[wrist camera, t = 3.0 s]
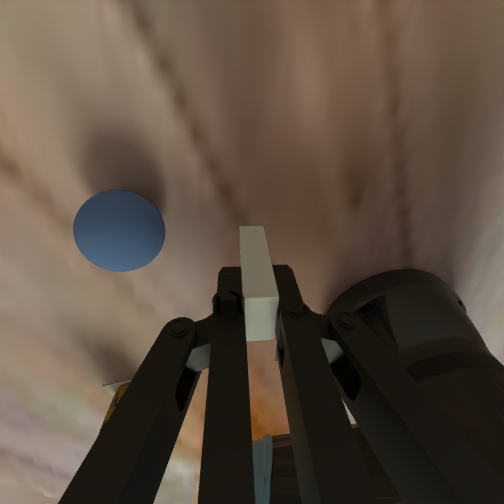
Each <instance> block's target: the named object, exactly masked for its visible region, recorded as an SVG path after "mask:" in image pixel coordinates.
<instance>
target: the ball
mask: <svg viewBox="0 0 504 504" xmlns="http://www.w3.org/2000/svg"><path fill="white" fill-rule="evenodd" d="M73 233H74V238H75V241H76V244H77V246H78V248H79V250H80V251H81V253H82V254H83V255H84V256H85V257H86V258H87V259H88V260H89V261H90V262H92V263H93V264H95V265H97V266H99V267H101V268H104V269H107V270H111V271H118V272H123V271H131V270H135V269H138V268H141V267H143V266H145V265H146V264H148V263H150V262H151V261H152V260H153V259H154V258H155V257H156V256H157V255H158V253H159V252H160V250H161V248H162V246H163V243H164V239H165V225H164V221H163V218H162V216H161V214H160V212H159V211H158V210H157V208H156V207H155V206H154V205H153V204H152V203H151V202H150V201H149V200H147V199H146V198H144V197H143V196H141V195H139V194H136V193H133V192H130V191H125V190H110V191H105V192H102V193H99V194H97V195H95V196H93V197H91V198H90V199H89V200H87V201H86V202H85V203H84V204H83V205H82V206H81V208H80V209H79V211H78V212H77V214H76V217H75V220H74V225H73Z"/></svg>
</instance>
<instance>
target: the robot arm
mask: <svg viewBox="0 0 504 504" xmlns="http://www.w3.org/2000/svg"><path fill="white" fill-rule="evenodd" d="M212 304H213V313H212V314H211V315H210V316H209V317H207V318H205V319H203V320H200V321H196V322H194V321H193V320H191V319H189V318H186V317H179V318H176V319H173V320H171V321H169V322H168V323H167V324H166V325H165V326H164V327H163V329H162V331H161V332H160V334H159V336H158V337H157V339H156V341H155V342H154V344H153V346H152V347H151V349H150V351H149V352H148V354H147V356H146V357H145V359H144V361H143V362H142V364H141V366H140V367H139V369H138V371H137V372H136V374H135V376H134V377H133V379H132V381H131V382H130V384H129V386H128V387H127V389H126V391H125V392H124V394H123V396H122V397H121V399H120V401H119V402H118V404H117V406H116V407H115V409H114V411H113V412H112V414H111V416H110V417H109V419H108V421H107V422H106V424H105V426H104V427H103V429H102V431H101V432H100V434H99V436H98V437H97V439H96V441H95V442H94V444H93V446H92V447H91V449H90V451H89V452H88V454H87V456H86V457H85V459H84V461H83V462H82V464H81V466H80V467H79V469H78V471H77V472H76V474H75V476H74V477H73V479H72V481H71V482H70V484H69V486H68V487H67V489H66V491H65V492H64V494H63V496H62V497H61V499H60V501H59V502H58V504H153V502H154V500H155V497H156V494H157V492H158V489H159V486H160V483H161V481H162V478H163V475H164V472H165V470H166V467H167V464H168V462H169V459H170V456H171V453H172V451H173V448H174V445H175V442H176V440H177V437H178V434H179V432H180V429H181V426H182V423H183V421H184V418H185V415H186V413H187V410H188V407H189V404H190V402H191V399H192V396H193V393H194V391H195V388H196V385H197V383H198V380H199V377H200V374H201V372H202V370H203V369H206V368H208V367H209V375H208V387H207V398H206V410H205V422H204V434H203V446H202V458H201V470H200V482H199V493H198V504H504V366H503V365H502V364H501V363H500V362H499V361H498V360H497V359H496V358H495V357H494V356H493V355H492V354H491V353H490V351H489V350H488V348H487V347H486V345H485V343H484V341H483V339H482V337H481V336H480V334H479V332H478V331H477V329H476V327H475V326H474V324H473V323H472V321H471V320H470V319H469V317H468V316H467V314H466V308H465V305H464V304H463V302H462V300H461V298H460V297H459V296H458V294H457V293H456V292H455V291H454V290H452V289H451V288H450V287H449V286H448V285H447V284H446V283H445V282H443V281H442V280H441V279H440V278H438V277H437V276H435V275H433V274H431V273H428V272H424V271H419V270H398V271H391V272H387V273H383V274H379V275H377V276H374V277H371V278H369V279H367V280H364V281H362V282H360V283H359V284H357V285H355V286H354V287H352V288H351V289H349V290H348V291H346V292H345V293H344V294H343V295H342V296H341V297H339V298H338V299H337V301H336V302H335V303H334V304H333V305H332V306H331V308H330V309H329V311H328V313H327V315H326V316H325V315H321V314H317V313H314V312H312V311H311V310H310V309H309V307H308V306H307V305H306V304H304V302H303V300H302V297H301V294H300V291H299V288H298V285H297V283H296V279H295V276H294V273H293V270H292V269H291V268H290V267H289V266H288V265H272V263H271V259H270V254H269V250H268V246H267V241H266V237H265V232H264V228H263V226H240V267H223V268H222V269H221V270H220V272H219V274H218V286H217V293H216V294H215V295H214V297H213V299H212ZM275 335H276V339H277V348H276V359H275V361H278V363H279V369H280V375H281V381H282V387H283V393H284V399H285V405H286V411H287V417H288V423H289V429H290V434H284V435H277V436H271V434H268V435H265V436H264V437H263V439H258V440H254V441H252V432H251V414H250V397H249V379H248V362H247V344H246V341H262V340H275ZM341 397H342V398H341ZM342 399H343V401H344V402H345V404H346V406H347V408H348V409H349V411H350V413H351V414H352V416H353V418H354V419H355V421H356V424H351V423H350V420H349V418H348V415H347V412H346V409H345V406H344V403H343V401H342Z"/></svg>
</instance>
